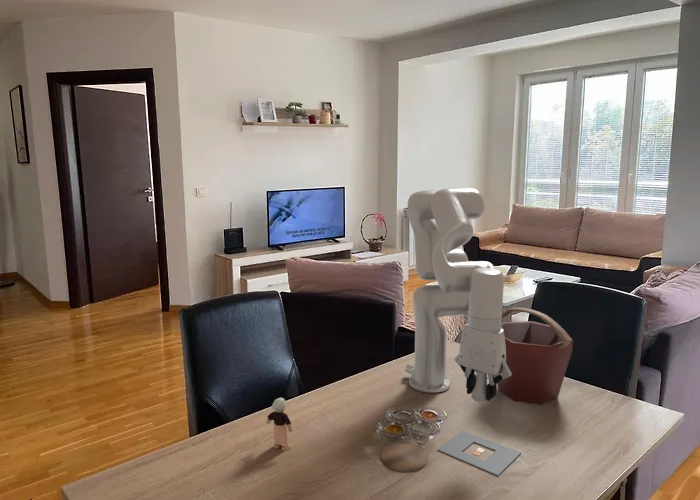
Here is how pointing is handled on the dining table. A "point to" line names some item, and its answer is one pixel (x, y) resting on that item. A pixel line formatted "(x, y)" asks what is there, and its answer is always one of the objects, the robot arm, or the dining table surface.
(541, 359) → the bucket
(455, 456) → the grey frame plate
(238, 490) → the dining table surface
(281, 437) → the grandmother figurine
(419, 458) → the walnut coaster
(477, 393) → the rook chess piece
